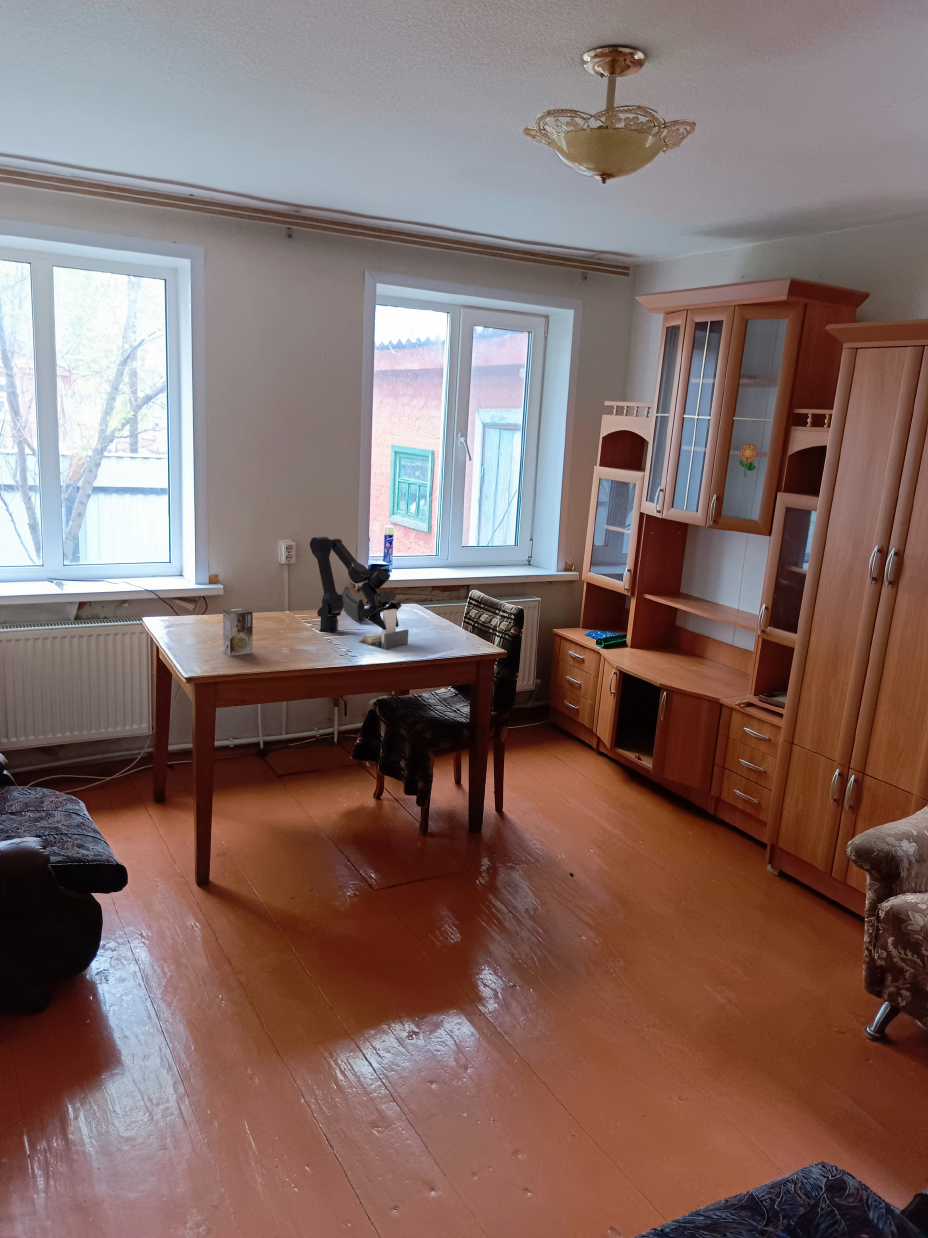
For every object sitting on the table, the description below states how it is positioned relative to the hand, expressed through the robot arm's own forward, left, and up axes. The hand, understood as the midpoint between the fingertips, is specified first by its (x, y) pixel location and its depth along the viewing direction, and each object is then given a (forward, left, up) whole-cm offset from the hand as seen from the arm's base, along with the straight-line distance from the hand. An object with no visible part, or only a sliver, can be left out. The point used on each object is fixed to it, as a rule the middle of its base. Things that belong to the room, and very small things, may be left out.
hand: (391, 628), depth 343 cm
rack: (-4, +2, -8) cm, 9 cm away
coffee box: (-51, -29, -8) cm, 60 cm away
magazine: (-28, +46, -8) cm, 55 cm away
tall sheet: (-1, +1, -7) cm, 7 cm away
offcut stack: (-7, +4, -7) cm, 11 cm away
